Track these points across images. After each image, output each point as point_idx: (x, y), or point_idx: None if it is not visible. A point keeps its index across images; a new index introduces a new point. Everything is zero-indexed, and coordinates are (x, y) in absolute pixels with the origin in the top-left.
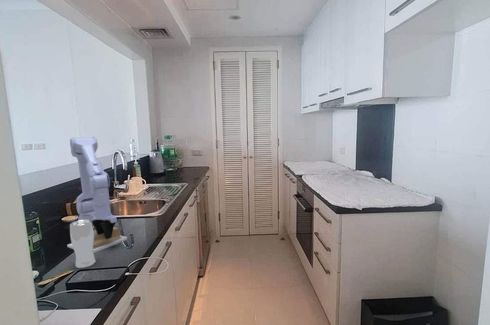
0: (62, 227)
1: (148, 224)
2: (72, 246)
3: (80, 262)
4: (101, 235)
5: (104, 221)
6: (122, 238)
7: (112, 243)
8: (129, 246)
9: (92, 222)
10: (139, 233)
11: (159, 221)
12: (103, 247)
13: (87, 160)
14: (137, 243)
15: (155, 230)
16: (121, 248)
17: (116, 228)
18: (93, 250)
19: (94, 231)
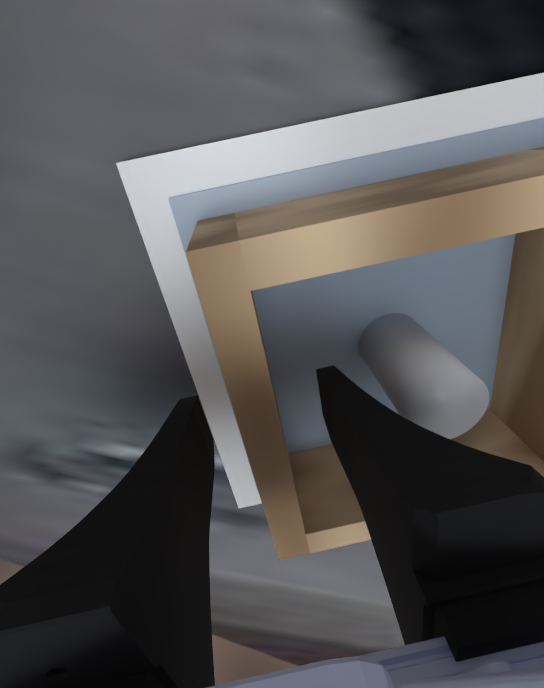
0: None
1: (381, 617)
2: (512, 79)
3: None
4: (230, 394)
5: (394, 601)
6: (241, 481)
7: (202, 402)
8: (67, 463)
9: (462, 500)
10: (280, 560)
11: (364, 654)
12: (173, 320)
13: None
14: (88, 511)
15: (241, 618)
16: (68, 415)
17: (306, 546)
18: (144, 215)
19: (438, 379)
